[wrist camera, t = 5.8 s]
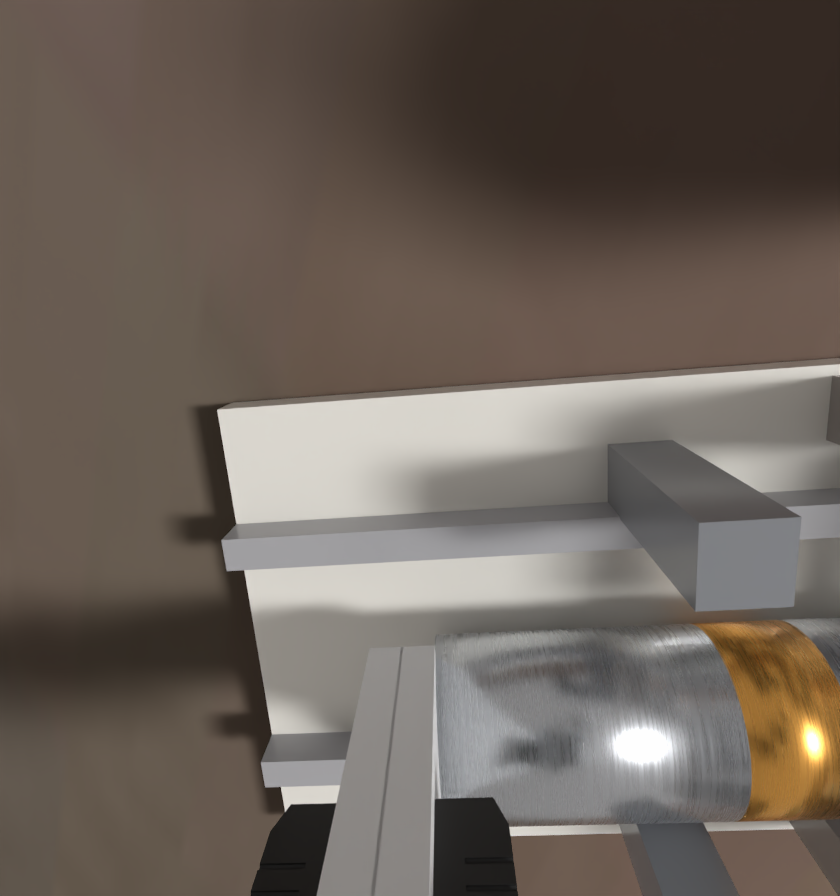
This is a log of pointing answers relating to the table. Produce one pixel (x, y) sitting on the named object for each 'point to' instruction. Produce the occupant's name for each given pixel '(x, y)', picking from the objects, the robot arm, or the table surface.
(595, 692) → the tube
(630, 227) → the table surface
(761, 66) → the table surface
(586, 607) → the collar board
